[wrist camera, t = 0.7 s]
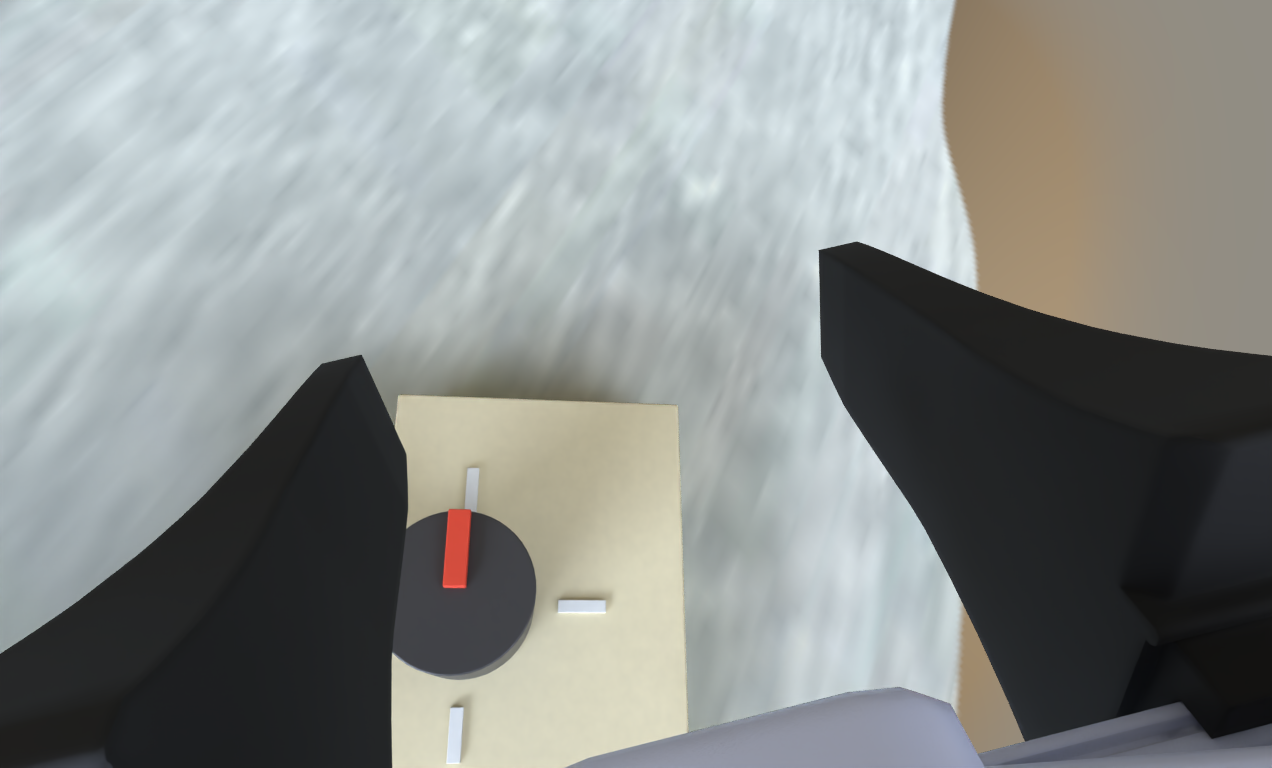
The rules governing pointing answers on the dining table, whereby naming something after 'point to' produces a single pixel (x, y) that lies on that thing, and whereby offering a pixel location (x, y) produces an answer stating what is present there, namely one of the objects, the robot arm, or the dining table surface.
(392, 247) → the dining table surface
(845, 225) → the dining table surface
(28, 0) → the dining table surface
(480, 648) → the knob
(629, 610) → the panel
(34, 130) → the dining table surface
